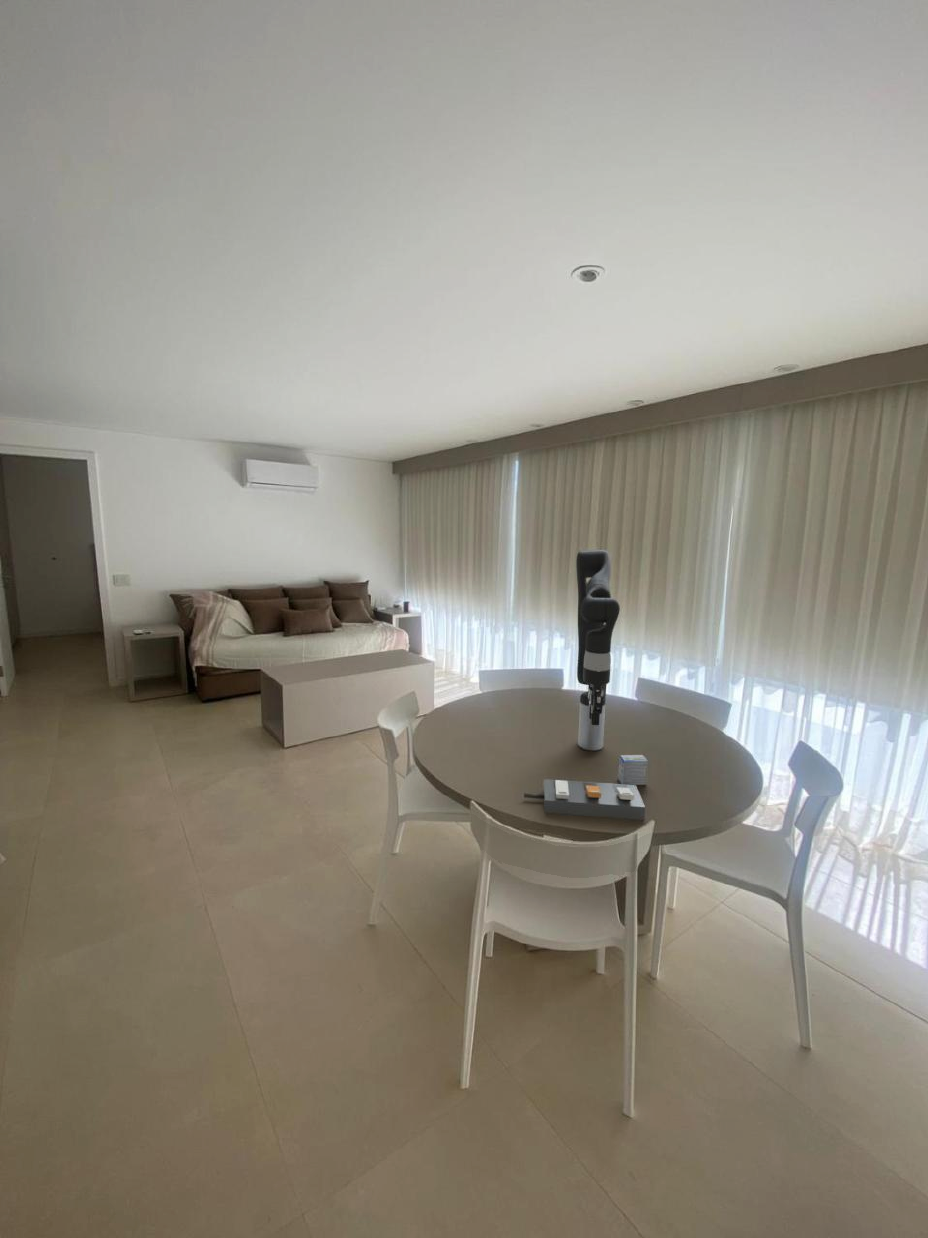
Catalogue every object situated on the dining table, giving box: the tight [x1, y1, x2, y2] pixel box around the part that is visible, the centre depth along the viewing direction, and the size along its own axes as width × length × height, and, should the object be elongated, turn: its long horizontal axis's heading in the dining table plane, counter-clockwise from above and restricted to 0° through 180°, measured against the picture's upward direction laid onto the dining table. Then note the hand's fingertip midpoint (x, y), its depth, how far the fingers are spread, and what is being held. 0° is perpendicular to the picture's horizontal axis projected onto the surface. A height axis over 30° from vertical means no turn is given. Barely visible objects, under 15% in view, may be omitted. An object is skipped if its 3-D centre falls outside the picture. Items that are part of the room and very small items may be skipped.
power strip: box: [523, 778, 646, 821], centre depth 144 cm, size 12×34×5 cm, turn 83°
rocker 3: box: [616, 787, 634, 800], centre depth 139 cm, size 6×4×2 cm, turn 173°
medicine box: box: [617, 754, 649, 786], centre depth 156 cm, size 8×4×9 cm, turn 92°
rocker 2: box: [586, 785, 601, 798], centre depth 140 cm, size 6×4×2 cm, turn 173°
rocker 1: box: [554, 779, 569, 799], centre depth 141 cm, size 6×4×2 cm, turn 173°
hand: (594, 721), depth 142 cm, fingers open, 3 cm apart
